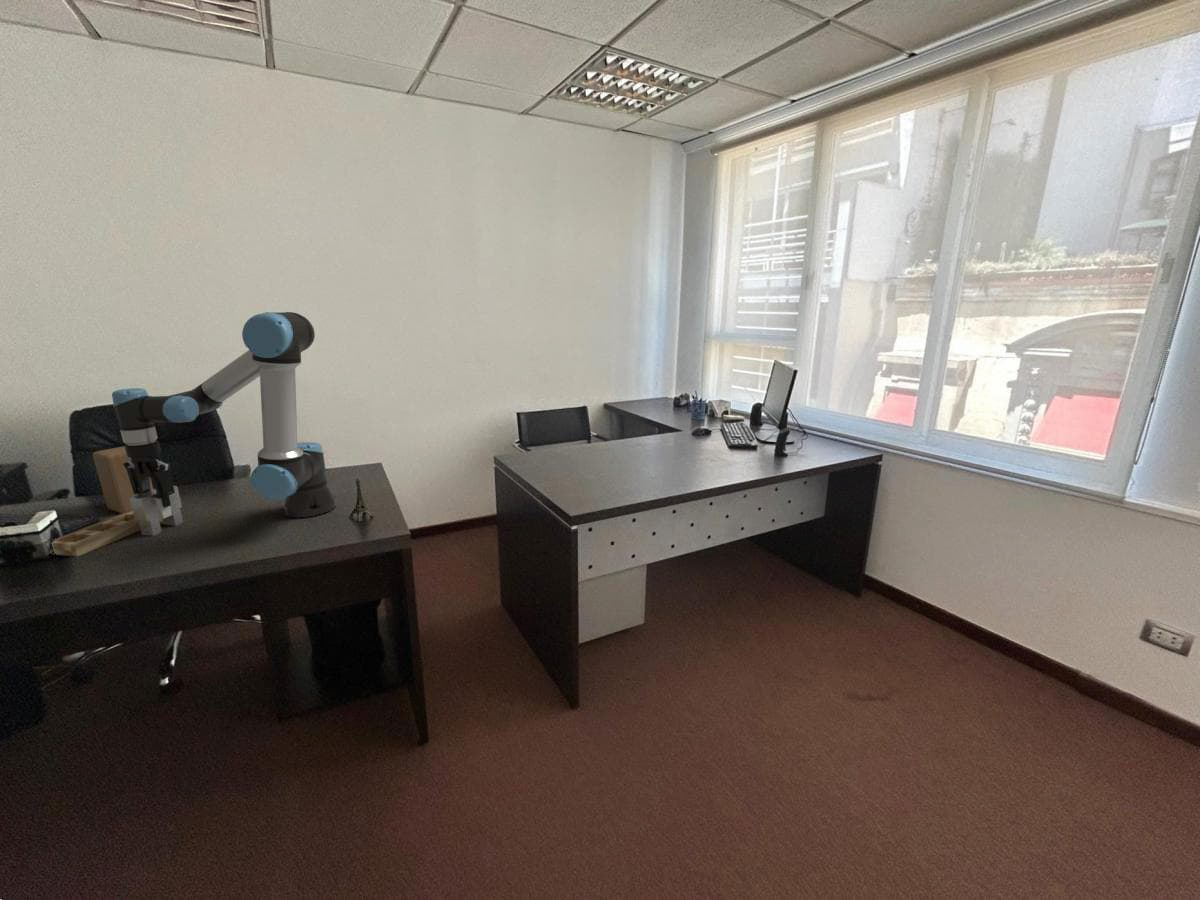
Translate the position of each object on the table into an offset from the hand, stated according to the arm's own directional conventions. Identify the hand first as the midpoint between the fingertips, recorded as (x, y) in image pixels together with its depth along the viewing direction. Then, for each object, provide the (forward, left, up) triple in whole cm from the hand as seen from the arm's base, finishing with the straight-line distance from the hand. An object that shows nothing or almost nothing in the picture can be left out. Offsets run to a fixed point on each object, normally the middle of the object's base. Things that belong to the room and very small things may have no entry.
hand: (160, 515), depth 152 cm
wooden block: (+26, -13, -4) cm, 29 cm away
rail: (+10, +5, -4) cm, 12 cm away
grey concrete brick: (0, 0, -4) cm, 4 cm away
